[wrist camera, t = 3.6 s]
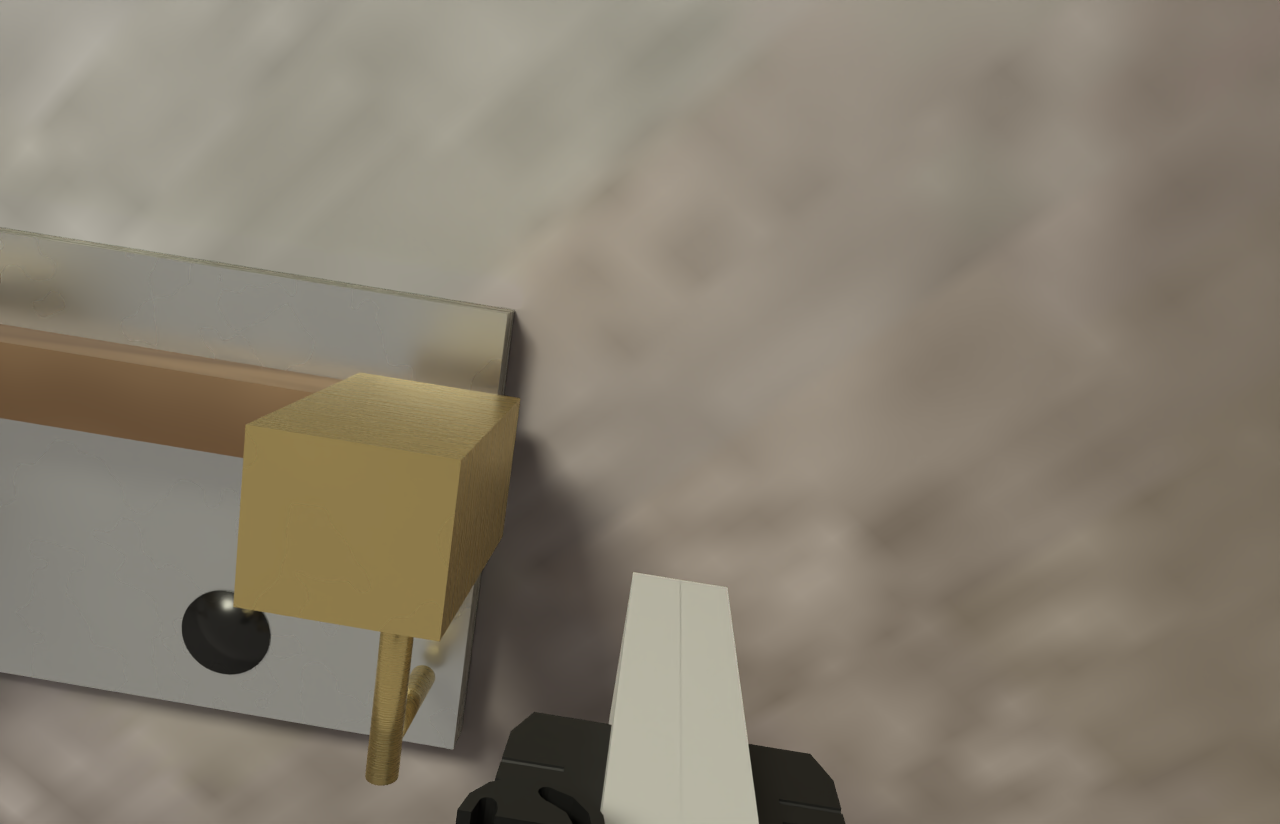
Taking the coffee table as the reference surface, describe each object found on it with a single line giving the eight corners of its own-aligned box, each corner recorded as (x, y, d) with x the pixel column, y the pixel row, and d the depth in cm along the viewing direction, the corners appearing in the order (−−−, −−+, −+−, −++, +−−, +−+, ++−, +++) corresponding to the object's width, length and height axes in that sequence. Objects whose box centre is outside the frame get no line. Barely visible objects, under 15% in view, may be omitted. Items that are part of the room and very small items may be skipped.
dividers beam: (-235, 256, 26) (-642, 273, 18) (517, 378, 25) (439, 450, 17) (-222, 587, 28) (-583, 733, 20) (475, 706, 27) (388, 902, 19)
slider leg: (383, 361, 25) (245, 424, 17) (532, 385, 25) (461, 459, 17) (350, 696, 27) (214, 887, 19) (488, 720, 27) (406, 920, 19)
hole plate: (-221, 192, 26) (-258, 191, 25) (514, 310, 26) (506, 313, 25) (-205, 617, 29) (-238, 632, 28) (461, 731, 28) (452, 750, 27)
